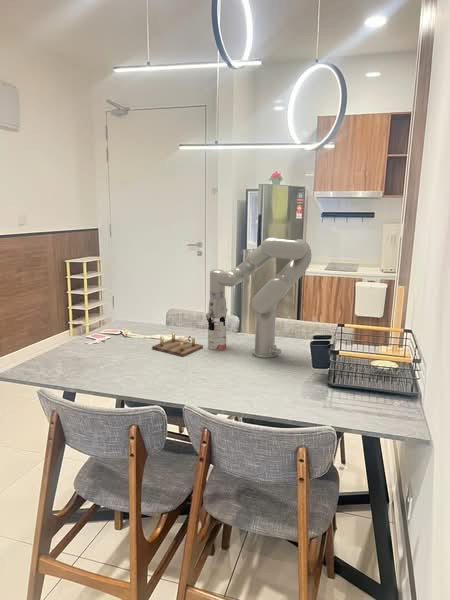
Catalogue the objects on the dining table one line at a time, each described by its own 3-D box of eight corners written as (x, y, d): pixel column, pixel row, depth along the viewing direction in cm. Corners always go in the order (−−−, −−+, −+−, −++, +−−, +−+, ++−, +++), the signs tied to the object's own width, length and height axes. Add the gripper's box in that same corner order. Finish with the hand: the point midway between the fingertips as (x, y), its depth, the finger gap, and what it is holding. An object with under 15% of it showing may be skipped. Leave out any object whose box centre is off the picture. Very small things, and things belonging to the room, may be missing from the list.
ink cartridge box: (226, 347, 218) (226, 319, 215) (223, 350, 213) (224, 322, 210) (210, 346, 220) (210, 318, 217) (207, 348, 215) (207, 320, 212)
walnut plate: (203, 348, 216) (203, 345, 216) (183, 356, 203) (183, 353, 203) (172, 341, 227) (172, 338, 227) (152, 349, 214) (152, 346, 214)
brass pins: (195, 345, 215) (195, 338, 215) (182, 351, 207) (182, 343, 206) (173, 340, 223) (173, 333, 222) (159, 346, 215) (159, 338, 214)
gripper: (213, 298, 202) (213, 333, 205) (233, 292, 216) (232, 325, 219) (200, 296, 206) (200, 330, 209) (220, 291, 220) (220, 323, 223)
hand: (216, 327), depth 214 cm, fingers open, 9 cm apart
